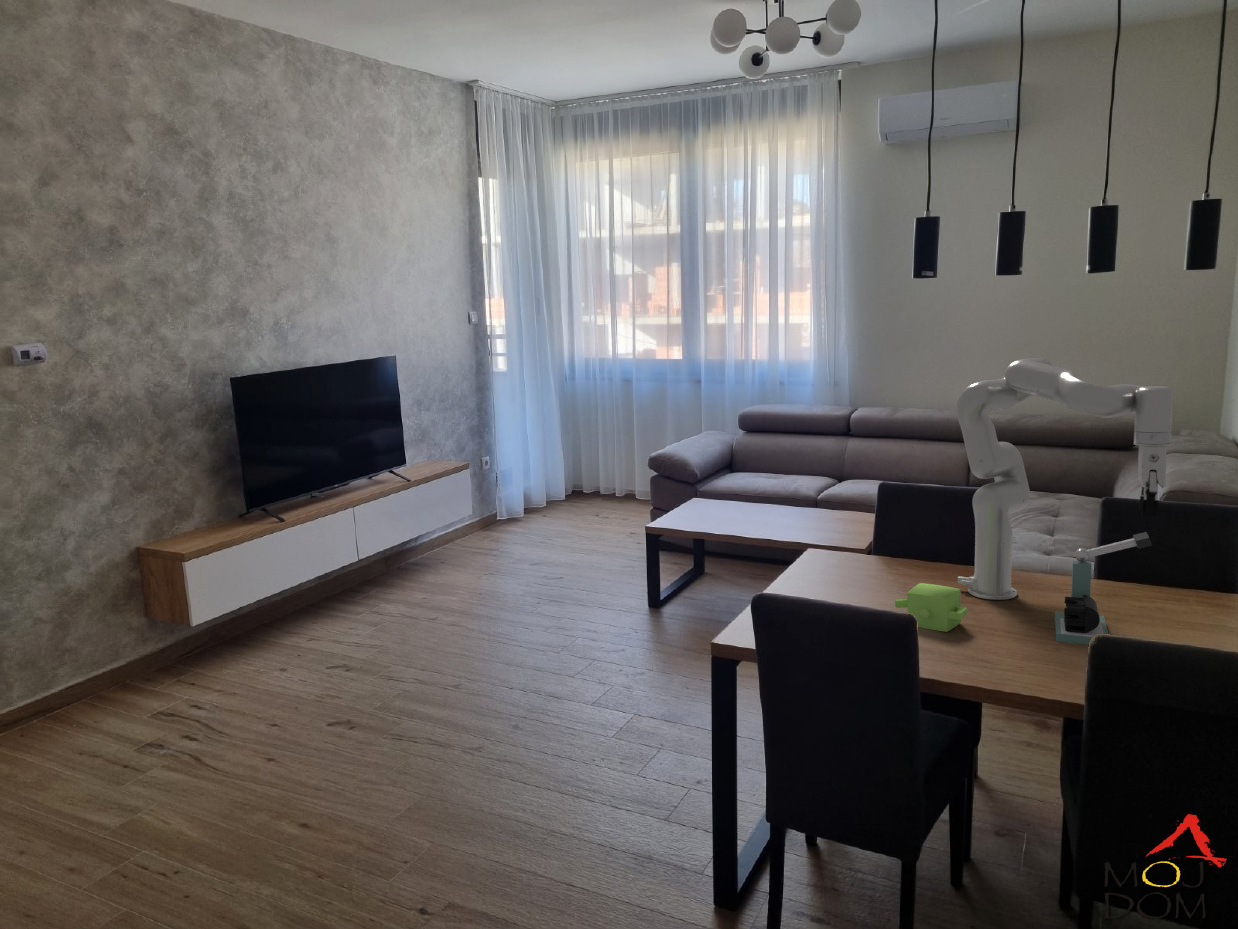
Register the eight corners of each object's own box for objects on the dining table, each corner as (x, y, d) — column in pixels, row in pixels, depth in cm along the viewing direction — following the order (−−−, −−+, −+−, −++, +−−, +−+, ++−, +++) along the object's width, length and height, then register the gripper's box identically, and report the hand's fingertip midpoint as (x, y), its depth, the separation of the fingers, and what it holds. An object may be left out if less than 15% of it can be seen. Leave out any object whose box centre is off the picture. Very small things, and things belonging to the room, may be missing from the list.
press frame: (1056, 641, 211) (1058, 577, 208) (1054, 619, 226) (1057, 558, 223) (1108, 646, 206) (1111, 581, 203) (1103, 623, 221) (1106, 561, 219)
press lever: (1078, 565, 216) (1074, 554, 216) (1077, 559, 222) (1073, 548, 222) (1152, 547, 209) (1148, 535, 209) (1149, 541, 214) (1145, 529, 214)
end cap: (1099, 635, 207) (1100, 608, 206) (1065, 632, 210) (1066, 605, 209) (1096, 622, 216) (1097, 595, 215) (1063, 619, 219) (1064, 592, 218)
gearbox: (888, 625, 228) (886, 590, 227) (904, 613, 235) (903, 579, 234) (956, 638, 216) (955, 601, 214) (972, 625, 223) (971, 589, 221)
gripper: (1175, 443, 199) (1171, 523, 202) (1166, 434, 214) (1161, 508, 217) (1137, 443, 202) (1133, 521, 205) (1130, 433, 217) (1126, 506, 220)
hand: (1148, 513), depth 211 cm, fingers open, 3 cm apart
